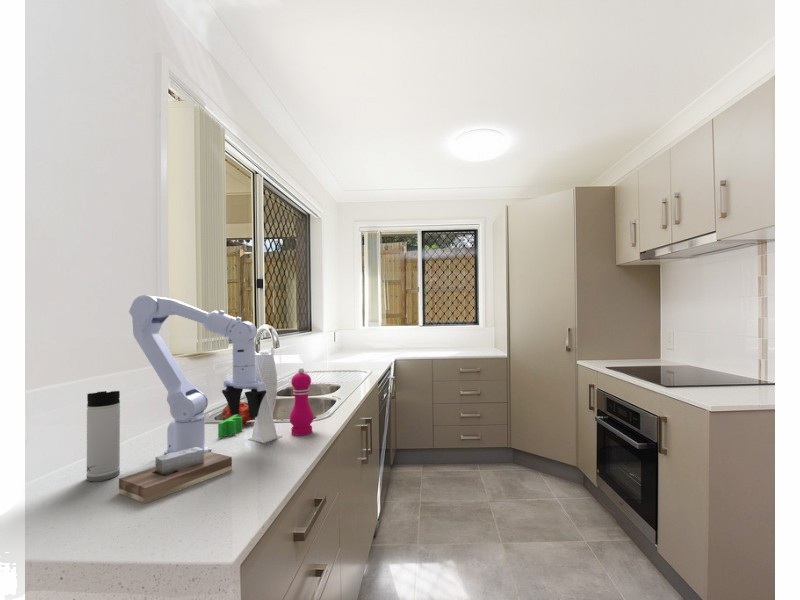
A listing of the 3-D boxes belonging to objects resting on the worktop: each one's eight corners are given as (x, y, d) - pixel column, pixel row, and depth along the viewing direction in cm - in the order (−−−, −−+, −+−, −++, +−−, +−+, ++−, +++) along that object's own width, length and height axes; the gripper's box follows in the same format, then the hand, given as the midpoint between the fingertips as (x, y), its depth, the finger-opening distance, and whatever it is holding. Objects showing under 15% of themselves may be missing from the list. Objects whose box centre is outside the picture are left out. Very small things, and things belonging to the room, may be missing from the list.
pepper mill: (292, 429, 133) (291, 366, 134) (314, 429, 134) (314, 366, 135) (287, 436, 126) (287, 369, 127) (312, 435, 127) (311, 369, 127)
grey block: (155, 480, 92) (155, 457, 92) (197, 467, 98) (196, 446, 99) (162, 484, 89) (162, 460, 89) (204, 471, 96) (204, 449, 96)
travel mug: (83, 484, 92) (84, 393, 93) (89, 474, 98) (89, 388, 99) (117, 479, 95) (117, 390, 96) (121, 469, 101) (121, 386, 102)
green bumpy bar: (230, 439, 126) (230, 423, 126) (218, 439, 126) (218, 423, 126) (246, 428, 137) (246, 414, 137) (235, 428, 137) (235, 414, 137)
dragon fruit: (219, 429, 141) (256, 432, 143) (215, 419, 134) (253, 423, 136) (226, 405, 146) (261, 409, 148) (223, 395, 140) (260, 399, 141)
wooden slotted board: (118, 493, 87) (118, 478, 88) (205, 462, 105) (205, 450, 105) (145, 503, 82) (145, 488, 83) (231, 469, 100) (231, 456, 100)
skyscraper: (285, 438, 125) (284, 344, 126) (263, 446, 118) (263, 346, 119) (266, 434, 130) (266, 344, 130) (244, 441, 123) (244, 346, 124)
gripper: (273, 365, 114) (274, 415, 114) (238, 362, 122) (238, 409, 121) (253, 368, 108) (253, 421, 108) (216, 365, 115) (217, 415, 115)
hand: (244, 415), depth 114 cm, fingers open, 7 cm apart
